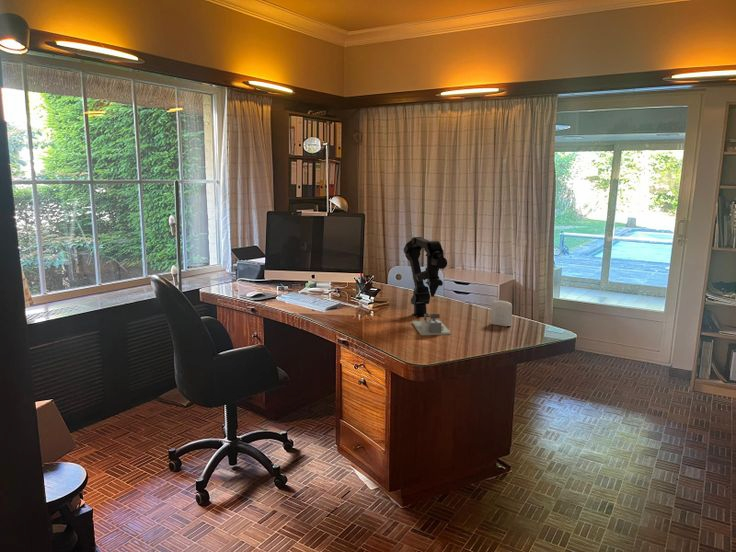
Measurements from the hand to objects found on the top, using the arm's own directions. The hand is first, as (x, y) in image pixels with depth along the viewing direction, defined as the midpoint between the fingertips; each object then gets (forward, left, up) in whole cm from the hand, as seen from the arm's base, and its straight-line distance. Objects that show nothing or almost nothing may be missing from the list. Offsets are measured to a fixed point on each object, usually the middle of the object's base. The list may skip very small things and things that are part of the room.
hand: (432, 296), depth 270 cm
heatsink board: (+10, -10, -13) cm, 19 cm away
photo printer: (+26, +22, -13) cm, 37 cm away
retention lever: (+7, -8, -7) cm, 13 cm away
